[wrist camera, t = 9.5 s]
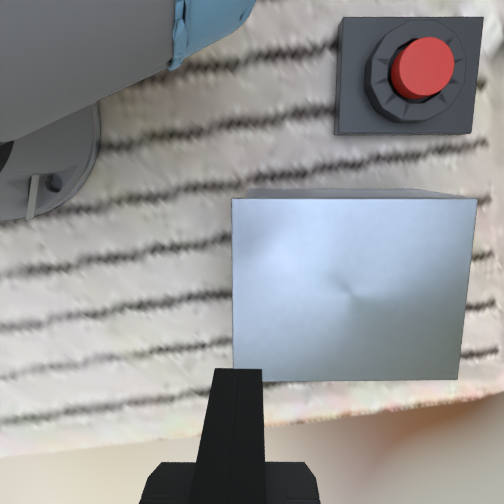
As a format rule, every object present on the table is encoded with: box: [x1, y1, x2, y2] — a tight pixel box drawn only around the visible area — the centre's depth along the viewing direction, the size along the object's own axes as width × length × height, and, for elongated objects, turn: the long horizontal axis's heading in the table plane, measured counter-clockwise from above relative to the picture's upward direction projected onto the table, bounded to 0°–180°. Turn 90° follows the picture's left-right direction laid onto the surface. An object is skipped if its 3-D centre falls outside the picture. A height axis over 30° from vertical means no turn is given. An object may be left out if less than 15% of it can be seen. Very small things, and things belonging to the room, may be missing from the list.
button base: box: [334, 17, 484, 135], centre depth 30 cm, size 10×8×4 cm
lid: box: [231, 197, 478, 382], centre depth 26 cm, size 14×12×1 cm
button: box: [391, 37, 454, 99], centre depth 28 cm, size 4×4×2 cm
